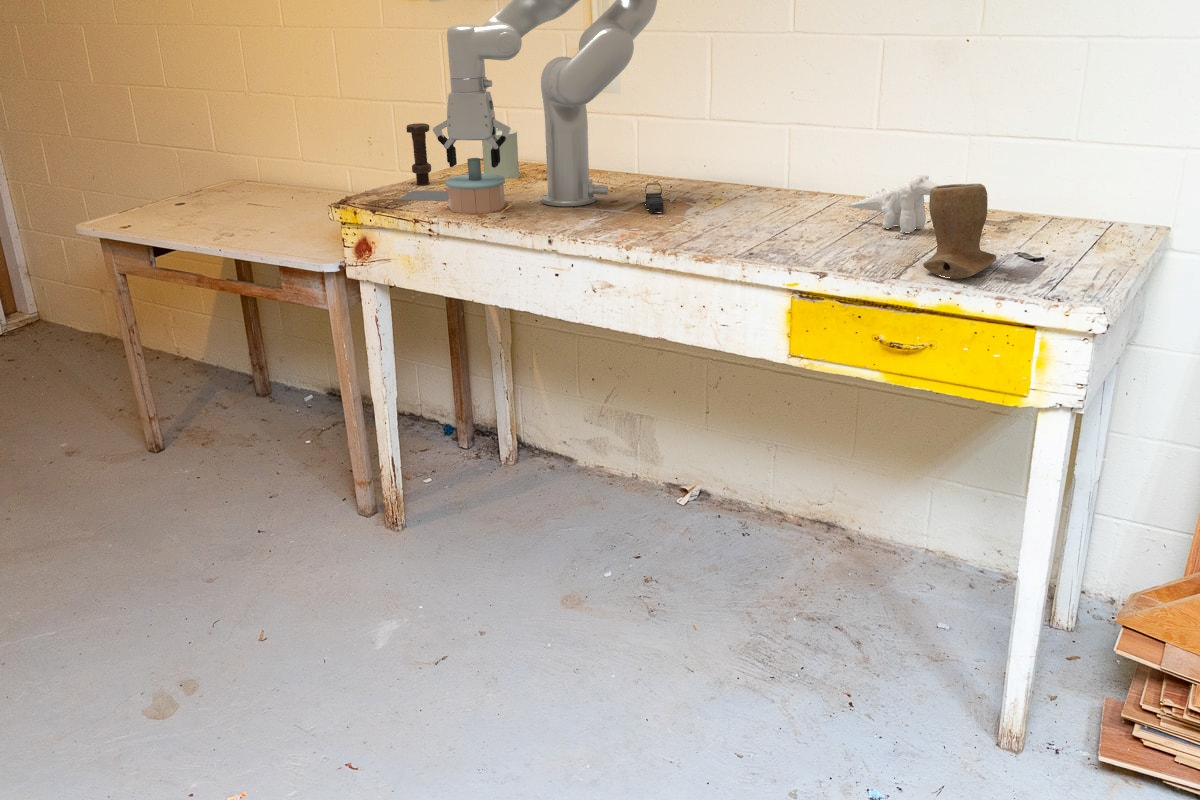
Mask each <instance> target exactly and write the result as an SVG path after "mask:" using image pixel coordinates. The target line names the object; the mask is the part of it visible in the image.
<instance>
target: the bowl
mask: <svg viewBox="0 0 1200 800" xmlns="http://www.w3.org/2000/svg"><path fill="white" fill-rule="evenodd" d="M447 191H448V199H449V200H448V208H449V210H450V211H451V212H453V213H458V214H465V215H466V214H471V215H472V214H475V215H476V214H477V215H478V214H485V213H488V214H489V213H493V212H496V211H500V210H501V211H502V210H503V211H505V209H506V208H504V207H505V206H506V204H505V187H504V184H502V185H499V186H496V187H491V188H483V189H456V188H451V187H448V186H447Z"/></svg>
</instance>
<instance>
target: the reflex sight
mask: <svg viewBox="0 0 1200 800" xmlns="http://www.w3.org/2000/svg"><path fill="white" fill-rule="evenodd" d="M650 185H651V186H652V185H653V186H656V185H658V186H659V187H660V192H658V193H657V192H654V193H650V192H649V193H647V187H648V186H650ZM662 191H663V189H662V185H661V184H660V183H658V182H657V183H656V182H655V183H651V182H650V183H647V184H646V185H645V191H644V192H645V202H643V205H644V204H646V205H645V210H646V209H649V211H650V212H663V213H664V198H663V197H662V193H663V192H662ZM649 211H648V212H649ZM650 212H649V213H650Z"/></svg>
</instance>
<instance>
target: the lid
mask: <svg viewBox="0 0 1200 800" xmlns="http://www.w3.org/2000/svg"><path fill="white" fill-rule="evenodd" d="M466 161H467V171H468V174H461V175H455V176H452V177H451V176H450V177H449V178H447V179H446V180H445V186H446V187H447V188H448V187H451V188H456V189H483V188H491V187H496V186H499V185H502V184H503V185H504V184H505V183H506V179H505V178H504V177H503V176H500V175H495V174H484V173H482V165H481V158H479V157H470V158H467V160H466Z"/></svg>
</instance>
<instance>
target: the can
mask: <svg viewBox="0 0 1200 800" xmlns="http://www.w3.org/2000/svg"><path fill="white" fill-rule="evenodd" d="M496 129H497V132H496V135H495V137H496V138H497V139H499V138H500V137H501V135H502V131H501V130H500V129H498V128H496ZM481 142H482V146H481V147H482V159H483V174H495V175H500V176H503V177H504V178H505V180H506V179H519V178H520V177H521V175H520V168H519V167H520V165H519V150H518V149H519V148H518V147H519V146H518V131H517V130H516V129H511V130H510V132H509V135H508V137H507V139H506V141H505V142H504V143H503V144H502V145H501V146H500V163H498V166H497V167H495V168H493V167H492V163H491V149H492V146H491V145H490V144H489V142H488V141H487V140H481Z"/></svg>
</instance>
